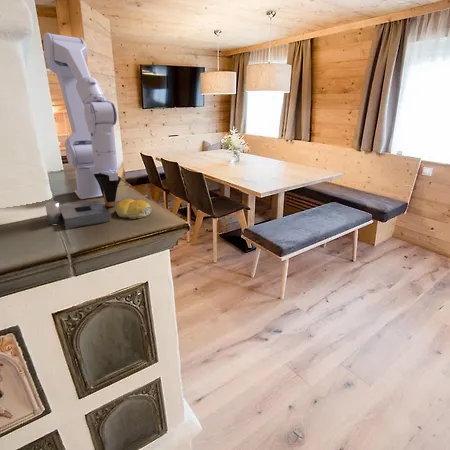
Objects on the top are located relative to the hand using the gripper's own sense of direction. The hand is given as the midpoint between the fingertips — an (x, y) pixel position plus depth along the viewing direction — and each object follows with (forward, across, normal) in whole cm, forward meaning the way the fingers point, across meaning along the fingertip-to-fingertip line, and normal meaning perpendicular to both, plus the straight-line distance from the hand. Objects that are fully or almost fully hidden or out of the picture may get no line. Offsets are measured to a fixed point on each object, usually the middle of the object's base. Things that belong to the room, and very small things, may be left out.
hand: (109, 200), depth 86 cm
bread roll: (+2, +8, +4) cm, 9 cm away
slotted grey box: (+2, +6, -9) cm, 11 cm away
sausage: (+2, 0, 0) cm, 2 cm away
